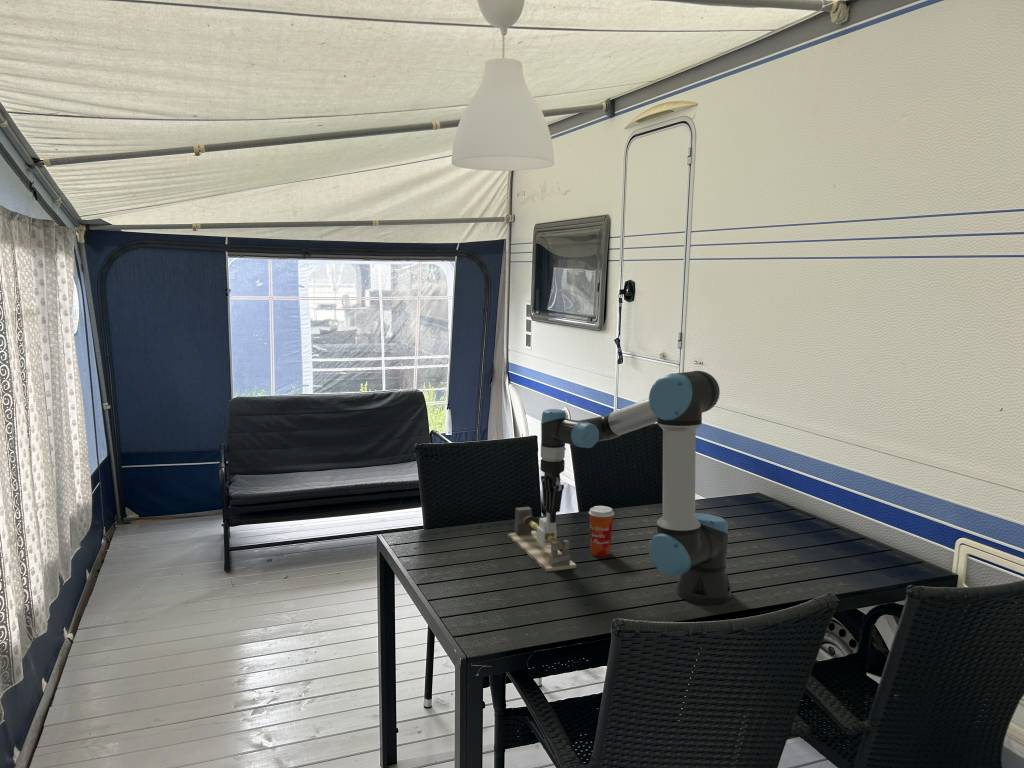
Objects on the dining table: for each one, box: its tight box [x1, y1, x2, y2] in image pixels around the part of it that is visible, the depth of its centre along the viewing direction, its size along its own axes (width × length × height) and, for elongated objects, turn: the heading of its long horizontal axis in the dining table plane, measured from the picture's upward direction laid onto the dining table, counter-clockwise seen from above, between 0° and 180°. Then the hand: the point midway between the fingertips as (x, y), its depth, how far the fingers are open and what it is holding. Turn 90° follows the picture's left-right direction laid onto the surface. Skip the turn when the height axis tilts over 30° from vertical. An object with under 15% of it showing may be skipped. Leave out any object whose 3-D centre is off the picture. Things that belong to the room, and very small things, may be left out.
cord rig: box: [507, 506, 577, 572], centre depth 252 cm, size 34×10×10 cm, turn 21°
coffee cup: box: [588, 505, 615, 557], centre depth 251 cm, size 8×8×15 cm
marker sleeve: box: [536, 516, 558, 546], centre depth 247 cm, size 5×5×8 cm
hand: (550, 531), depth 243 cm, fingers closed
